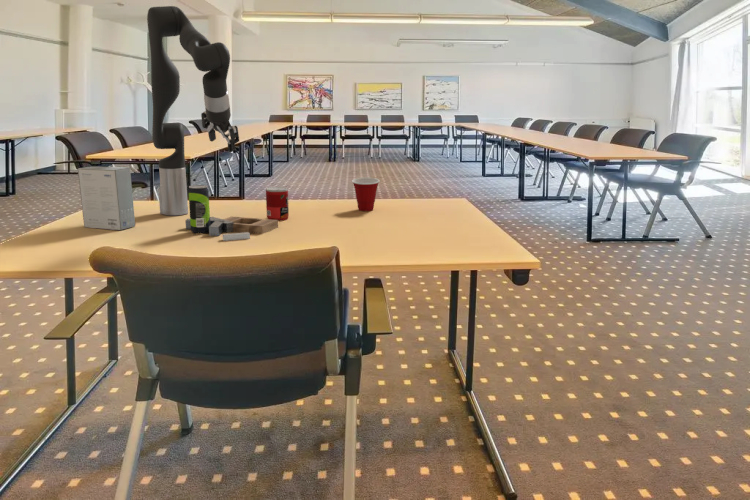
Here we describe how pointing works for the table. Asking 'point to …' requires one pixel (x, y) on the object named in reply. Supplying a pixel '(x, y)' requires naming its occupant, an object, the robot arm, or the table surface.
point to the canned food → (277, 203)
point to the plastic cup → (365, 192)
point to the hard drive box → (106, 197)
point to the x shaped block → (216, 226)
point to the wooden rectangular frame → (252, 224)
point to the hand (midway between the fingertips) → (222, 145)
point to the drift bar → (236, 236)
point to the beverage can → (199, 208)
